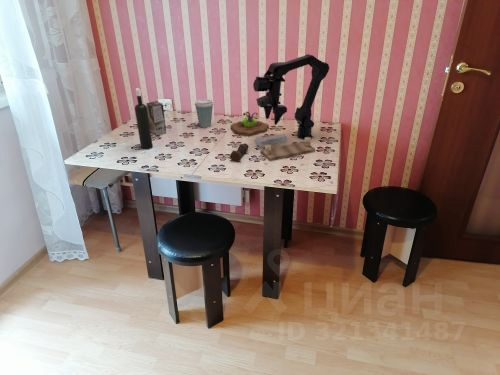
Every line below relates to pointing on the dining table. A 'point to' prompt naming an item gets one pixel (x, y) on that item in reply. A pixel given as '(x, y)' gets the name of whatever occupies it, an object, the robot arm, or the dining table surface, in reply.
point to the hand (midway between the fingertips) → (271, 121)
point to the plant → (249, 126)
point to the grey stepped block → (270, 140)
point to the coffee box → (156, 118)
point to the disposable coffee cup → (204, 112)
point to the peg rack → (287, 150)
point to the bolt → (239, 152)
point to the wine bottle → (143, 123)
